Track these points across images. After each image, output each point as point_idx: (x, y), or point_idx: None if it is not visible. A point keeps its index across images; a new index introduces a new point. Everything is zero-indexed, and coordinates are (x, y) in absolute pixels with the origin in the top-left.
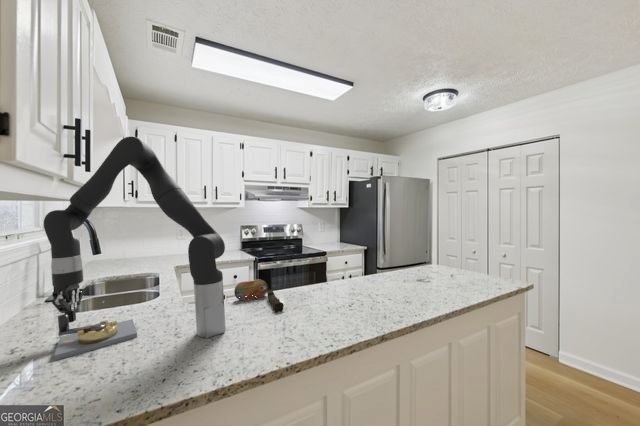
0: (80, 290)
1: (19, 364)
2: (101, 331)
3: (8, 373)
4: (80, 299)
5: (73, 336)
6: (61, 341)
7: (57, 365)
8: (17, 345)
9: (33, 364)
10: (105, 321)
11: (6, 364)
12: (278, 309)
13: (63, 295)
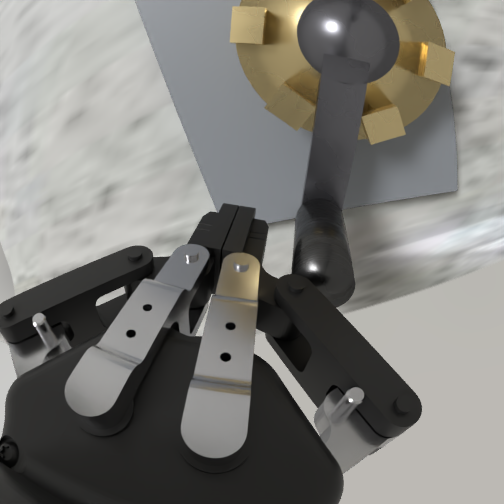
0: (23, 333)
1: (391, 277)
2: (415, 15)
3: (439, 279)
4: (94, 271)
5: (252, 174)
6: (296, 207)
7: (493, 162)
8: (202, 327)
9: (426, 238)
10: (257, 13)
11: (359, 308)
12: None
13: (332, 455)
